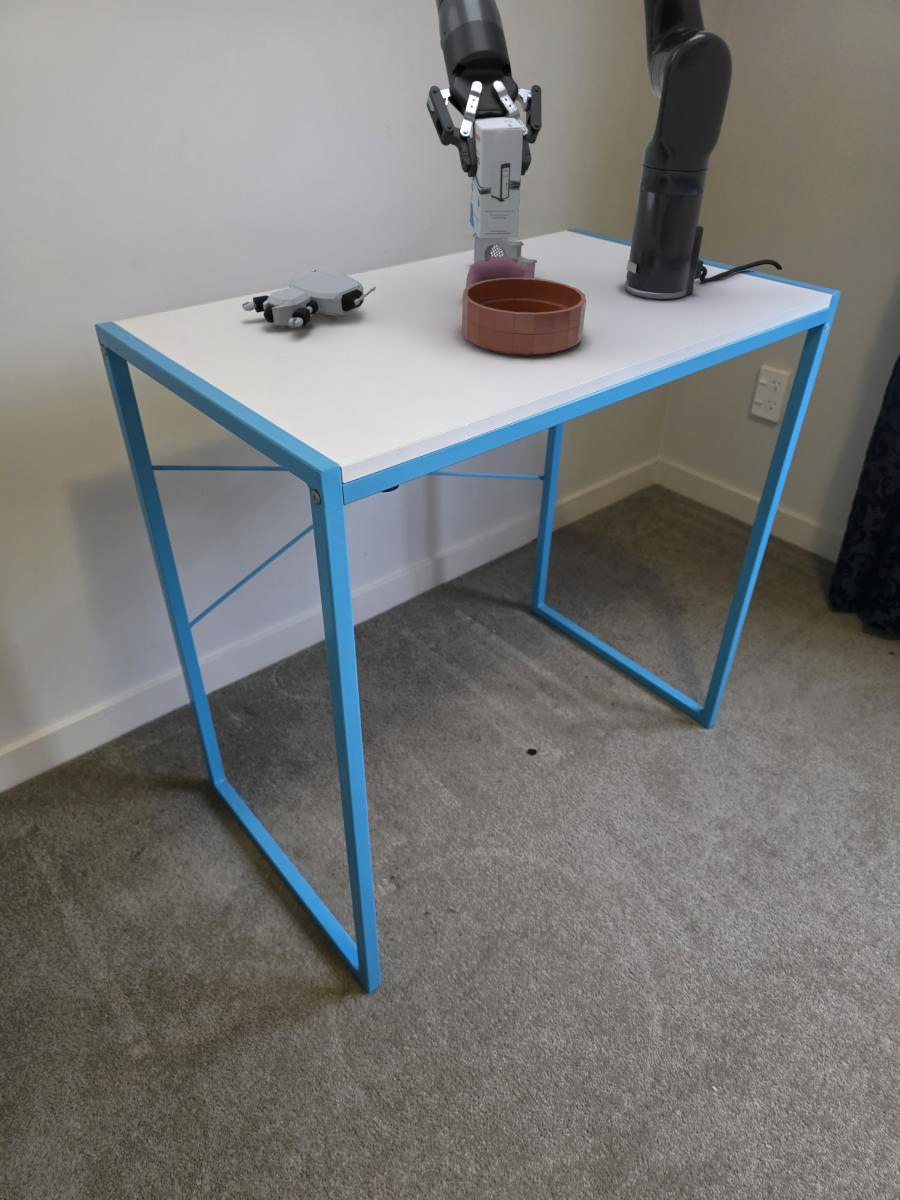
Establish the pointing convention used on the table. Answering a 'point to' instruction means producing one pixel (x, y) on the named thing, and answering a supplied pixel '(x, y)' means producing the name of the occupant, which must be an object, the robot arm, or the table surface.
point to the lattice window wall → (504, 244)
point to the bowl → (523, 315)
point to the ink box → (496, 177)
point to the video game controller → (498, 269)
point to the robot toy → (310, 299)
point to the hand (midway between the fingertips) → (498, 171)
